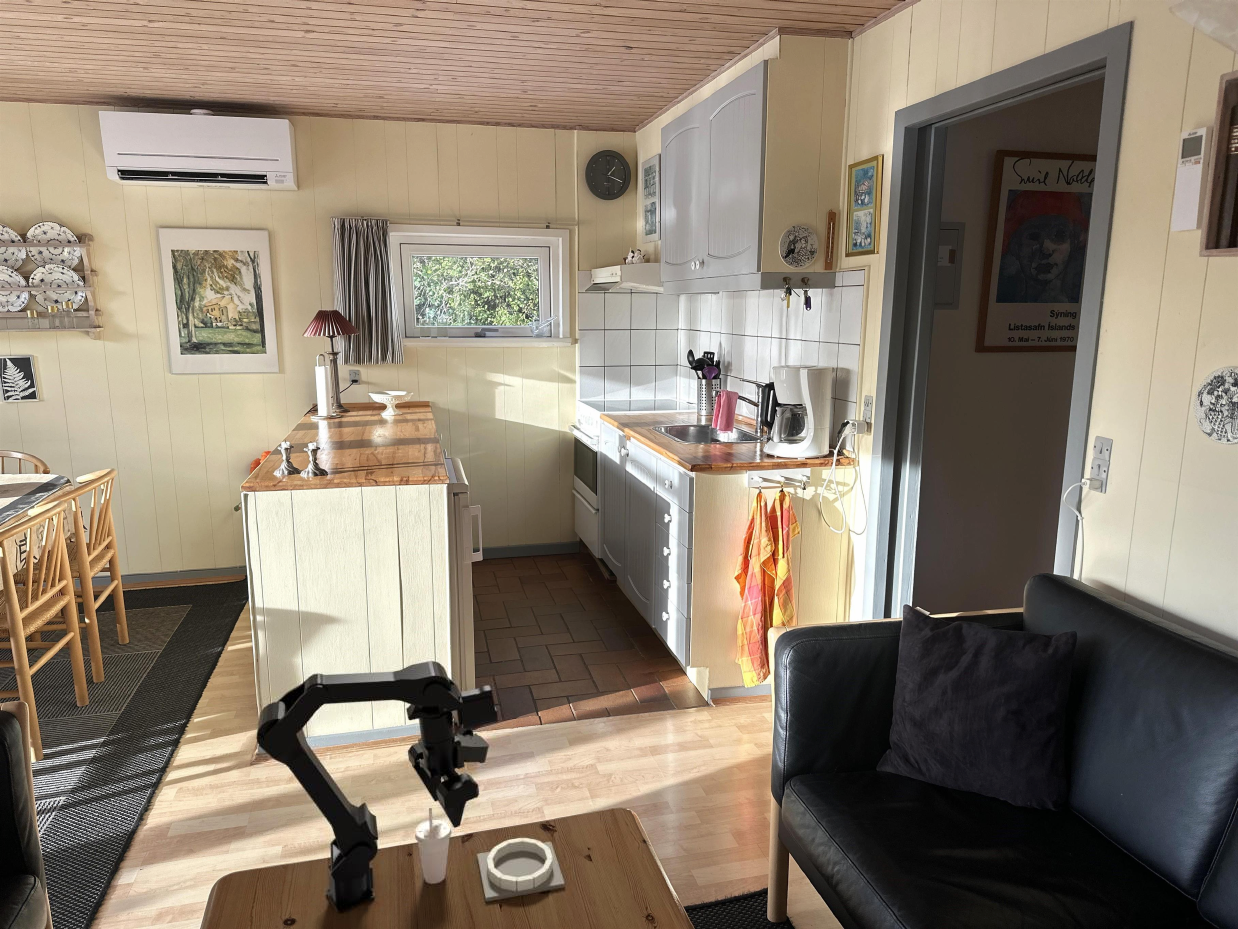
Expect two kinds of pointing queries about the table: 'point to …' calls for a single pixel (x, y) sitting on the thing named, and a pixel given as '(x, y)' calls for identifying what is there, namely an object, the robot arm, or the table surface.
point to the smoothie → (433, 847)
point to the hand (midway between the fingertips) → (446, 813)
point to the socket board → (519, 869)
